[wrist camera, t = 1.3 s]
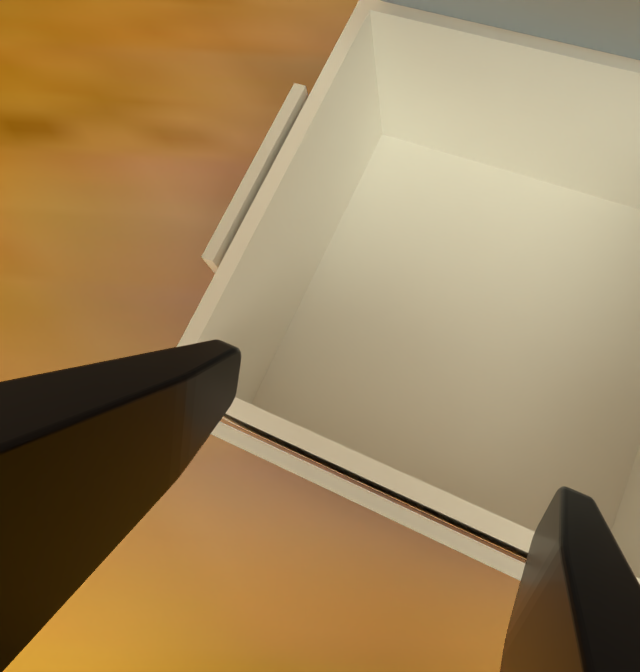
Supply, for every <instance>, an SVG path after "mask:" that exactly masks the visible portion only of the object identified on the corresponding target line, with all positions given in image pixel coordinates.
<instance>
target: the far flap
mask: <svg viewBox="0 0 640 672" xmlns="http://www.w3.org/2000/svg"><path fill="white" fill-rule="evenodd" d="M381 1H384V2H388V3H393V4H397V5H401V6H406V7H410V8H414V9H419V10H423V11H427V12H432V13H436V14H440V15H445V16H449V17H454V18H458V19H462V20H467V21H471V22H475V23H480V24H484V25H488V26H493V27H497V28H501V29H506V30H510V31H514V32H519V33H523V34H528V35H532V36H536V37H541V38H545V39H549V40H554V41H558V42H562V43H567V44H571V45H575V46H580V47H584V48H588V49H593V50H597V51H602V52H606V53H610V54H615V55H619V56H623V57H628V58H632V59H636V60H640V0H381Z"/></svg>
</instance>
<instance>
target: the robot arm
mask: <svg viewBox="0 0 640 672" xmlns="http://www.w3.org/2000/svg"><path fill="white" fill-rule="evenodd" d="M240 365H241V351H240V350H239V348H238V347H236V346H233V345H231V344H228V343H226V342H224V341H221V340H217V339H215V340H210V341H205V342H200V343H195V344H190V345H184V346H179V347H174V348H169V349H164V350H159V351H154V352H149V353H144V354H139V355H134V356H129V357H124V358H119V359H114V360H109V361H104V362H99V363H94V364H89V365H83V366H78V367H73V368H68V369H63V370H58V371H53V372H48V373H43V374H38V375H33V376H28V377H23V378H18V379H13V380H8V381H3V382H0V672H3V670H4V669H5V668H6V667H7V666H8V665H9V664H10V663H11V662H12V661H13V660H14V658H15V657H16V656H17V655H18V654H19V653H20V652H21V651H22V650H23V649H24V647H25V646H26V645H27V644H28V643H29V642H30V641H31V640H32V639H33V638H34V636H35V635H36V634H37V633H38V632H39V631H40V630H41V629H42V628H43V627H44V625H45V624H46V623H47V622H48V621H49V620H50V619H51V618H52V617H53V616H54V614H55V613H56V612H57V611H58V610H59V609H60V608H61V607H62V606H63V605H64V604H65V602H66V601H67V600H68V599H69V598H70V597H71V596H72V595H73V594H74V593H75V591H76V590H77V589H78V588H79V587H80V586H81V585H82V584H83V583H84V582H85V580H86V579H87V578H88V577H89V576H90V575H91V574H92V573H93V572H94V571H95V569H96V568H97V567H98V566H99V565H100V564H101V563H102V562H103V561H104V560H105V558H106V557H107V556H108V555H109V554H110V553H111V552H112V551H113V550H114V549H115V548H116V546H117V545H118V544H119V543H120V542H121V541H122V540H123V539H124V538H125V537H126V535H127V534H128V533H129V532H130V531H131V530H132V529H133V528H134V527H135V526H136V524H137V523H138V522H139V521H140V520H141V519H142V518H143V517H144V516H145V515H146V513H147V512H148V511H149V510H150V509H151V508H152V507H153V506H154V505H155V504H156V502H157V501H158V500H159V499H160V498H161V497H162V496H163V495H164V494H165V493H166V492H167V490H168V489H169V488H170V487H171V486H172V485H173V484H174V482H175V481H176V480H177V479H178V478H179V477H180V475H181V474H182V473H183V471H184V470H185V469H186V467H187V466H188V465H189V463H190V462H191V460H192V459H193V458H194V456H195V455H196V453H197V452H198V451H199V449H200V448H201V447H202V445H203V444H204V442H205V441H206V440H207V438H208V437H209V435H210V434H211V433H212V431H213V430H214V428H215V427H216V426H217V424H218V423H219V421H220V420H221V419H222V417H223V416H224V415H225V413H226V412H227V410H228V409H229V408H230V406H231V405H232V403H233V401H234V398H235V396H236V392H237V386H238V379H239V372H240ZM500 672H640V584H639V582H638V580H637V578H636V576H635V575H634V573H633V571H632V569H631V567H630V565H629V563H628V562H627V560H626V558H625V556H624V554H623V552H622V550H621V549H620V547H619V545H618V543H617V541H616V539H615V538H614V536H613V534H612V532H611V530H610V528H609V526H608V525H607V523H606V521H605V519H604V517H603V515H602V513H601V512H600V510H599V508H598V506H597V504H596V502H595V501H594V500H593V498H592V497H590V496H588V495H586V494H583V493H581V492H578V491H576V490H574V489H571V488H569V487H566V486H562V487H560V488H559V489H558V490H557V491H556V493H555V495H554V497H553V499H552V500H551V502H550V504H549V506H548V508H547V510H546V511H545V513H544V515H543V517H542V519H541V521H540V523H539V524H538V526H537V528H536V531H535V533H534V535H533V538H532V541H531V545H530V549H529V552H528V556H527V560H526V563H525V567H524V571H523V574H522V578H521V582H520V585H519V589H518V593H517V596H516V600H515V604H514V607H513V611H512V615H511V618H510V622H509V626H508V630H507V634H506V639H505V643H504V649H503V655H502V661H501V669H500Z"/></svg>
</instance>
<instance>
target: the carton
mask: <svg viewBox="0 0 640 672" xmlns="http://www.w3.org/2000/svg"><path fill="white" fill-rule="evenodd" d="M201 257H202V259H203V260H204V261H205V262H206V263H207V265H208V266H209V267H210V268H211V270H212V271H213V272H214V273H215V275H214V277H213V279H212V280H211V282H210V284H209V286H208V288H207V290H206V292H205V294H204V296H203V298H202V299H201V301H200V303H199V305H198V307H197V309H196V311H195V313H194V315H193V317H192V318H191V320H190V322H189V324H188V326H187V328H186V330H185V332H184V334H183V336H182V337H181V339H180V341H179V343H178V345H177V347H179V346H184V345H190V344H195V343H200V342H205V341H210V340H215V339H217V340H221V341H224V342H226V343H228V344H231V345H233V346H236V347H238V348H239V350H240V351H241V365H240V372H239V379H238V386H237V392H236V396H235V398H234V401H233V403H232V405H231V406H230V408H229V409H228V410H227V412H226V413H225V415H224V416H223V417H222V418H223V419H225V420H227V421H228V422H230V423H232V424H234V425H236V426H238V427H240V428H243V429H245V430H247V431H249V432H251V433H253V434H255V435H258V436H260V437H262V438H264V439H266V440H268V441H271V442H273V443H275V444H277V445H279V446H281V447H284V448H286V449H288V450H290V451H292V452H294V453H296V454H299V455H301V456H303V457H305V458H307V459H309V460H312V461H314V462H316V463H318V464H320V465H322V466H325V467H327V468H329V469H331V470H333V471H335V472H337V473H340V474H342V475H344V476H346V477H348V478H350V479H353V480H355V481H357V482H359V483H361V484H363V485H365V486H368V487H370V488H372V489H374V490H376V491H378V492H381V493H383V494H385V495H387V496H389V497H391V498H394V499H396V500H398V501H400V502H402V503H404V504H406V505H409V506H411V507H413V508H415V509H417V510H419V511H422V512H424V513H426V514H428V515H430V516H432V517H434V518H437V519H439V520H441V521H443V522H445V523H447V524H450V525H452V526H454V527H456V528H458V529H460V530H463V531H465V532H467V533H469V534H471V535H473V536H475V537H478V538H480V539H482V540H484V541H486V542H488V543H491V544H493V545H495V546H497V547H499V548H501V549H504V550H506V551H508V552H510V553H512V554H514V555H516V556H519V557H521V558H523V559H525V560H527V556H528V552H529V549H530V545H531V541H532V538H533V535H534V533H535V531H536V528H537V526H538V524H539V523H540V521H541V519H542V517H543V515H544V513H545V511H546V510H547V508H548V506H549V504H550V502H551V500H552V499H553V497H554V495H555V493H556V491H557V490H558V489H559V488H560V487H562V486H566V487H569V488H571V489H574V490H576V491H578V492H581V493H583V494H586V495H588V496H590V497H592V498H593V500H594V501H595V502H596V504H597V506H598V508H599V510H600V512H601V513H602V515H603V517H604V519H605V521H606V523H607V525H608V526H609V528H610V530H611V532H612V534H613V536H614V538H615V539H616V541H617V543H618V545H619V547H620V549H621V550H622V552H623V554H624V556H625V558H626V560H627V562H628V563H629V565H630V567H631V569H632V571H633V573H634V575H635V576H636V578H637V580H638V582H639V584H640V60H636V59H632V58H628V57H623V56H619V55H615V54H610V53H606V52H602V51H597V50H593V49H588V48H584V47H580V46H575V45H571V44H567V43H562V42H558V41H554V40H549V39H545V38H541V37H536V36H532V35H528V34H523V33H519V32H514V31H510V30H506V29H501V28H497V27H493V26H488V25H484V24H480V23H475V22H471V21H467V20H462V19H458V18H454V17H449V16H445V15H440V14H436V13H432V12H427V11H423V10H419V9H414V8H410V7H406V6H401V5H397V4H393V3H388V2H384V1H381V0H359V1H358V3H357V5H356V7H355V9H354V11H353V13H352V15H351V16H350V18H349V20H348V22H347V24H346V26H345V28H344V30H343V32H342V34H341V35H340V37H339V39H338V41H337V43H336V45H335V47H334V49H333V51H332V53H331V54H330V56H329V58H328V60H327V62H326V64H325V66H324V68H323V70H322V72H321V73H320V75H319V77H318V79H317V81H316V83H315V85H314V87H313V89H312V90H311V92H310V94H309V96H308V93H307V89H306V86H304V85H301V84H297V83H294V85H293V86H292V88H291V90H290V92H289V94H288V96H287V98H286V99H285V101H284V103H283V105H282V107H281V109H280V111H279V113H278V114H277V116H276V118H275V120H274V122H273V124H272V126H271V127H270V129H269V131H268V133H267V135H266V137H265V139H264V141H263V142H262V144H261V146H260V148H259V150H258V152H257V154H256V155H255V157H254V159H253V161H252V163H251V165H250V167H249V169H248V170H247V172H246V174H245V176H244V178H243V180H242V182H241V183H240V185H239V187H238V189H237V191H236V193H235V195H234V197H233V198H232V200H231V202H230V204H229V206H228V208H227V210H226V211H225V213H224V215H223V217H222V219H221V221H220V223H219V224H218V226H217V228H216V230H215V232H214V234H213V236H212V238H211V239H210V241H209V243H208V245H207V247H206V249H205V251H204V252H203V254H202V256H201ZM211 434H212V435H214V436H216V437H218V438H220V439H222V440H224V441H226V442H228V443H231V444H233V445H235V446H237V447H239V448H241V449H243V450H245V451H247V452H250V453H252V454H254V455H256V456H258V457H260V458H262V459H264V460H266V461H269V462H271V463H273V464H275V465H277V466H279V467H281V468H283V469H285V470H288V471H290V472H292V473H294V474H296V475H298V476H300V477H302V478H304V479H306V480H309V481H311V482H313V483H315V484H317V485H319V486H321V487H323V488H325V489H328V490H330V491H332V492H334V493H336V494H338V495H340V496H342V497H344V498H347V499H349V500H351V501H353V502H355V503H357V504H359V505H361V506H363V507H366V508H368V509H370V510H372V511H374V512H376V513H378V514H380V515H382V516H385V517H387V518H389V519H391V520H393V521H395V522H397V523H399V524H401V525H403V526H406V527H408V528H410V529H412V530H414V531H416V532H418V533H420V534H422V535H425V536H427V537H429V538H431V539H433V540H435V541H437V542H439V543H441V544H444V545H446V546H448V547H450V548H452V549H454V550H456V551H458V552H460V553H463V554H465V555H467V556H469V557H471V558H473V559H475V560H477V561H479V562H482V563H484V564H486V565H488V566H490V567H492V568H494V569H496V570H498V571H500V572H503V573H505V574H507V575H509V576H511V577H513V578H515V579H517V580H519V581H521V578H522V574H523V571H524V567H525V563H523V562H521V561H519V560H517V559H515V558H512V557H510V556H508V555H506V554H504V553H502V552H499V551H497V550H495V549H493V548H491V547H489V546H487V545H484V544H482V543H480V542H478V541H476V540H474V539H472V538H469V537H467V536H465V535H463V534H461V533H459V532H457V531H454V530H452V529H450V528H448V527H446V526H444V525H441V524H439V523H437V522H435V521H433V520H431V519H429V518H426V517H424V516H422V515H420V514H418V513H416V512H414V511H411V510H409V509H407V508H405V507H403V506H401V505H398V504H396V503H394V502H392V501H390V500H388V499H386V498H383V497H381V496H379V495H377V494H375V493H373V492H371V491H368V490H366V489H364V488H362V487H360V486H358V485H356V484H353V483H351V482H349V481H347V480H345V479H343V478H340V477H338V476H336V475H334V474H332V473H330V472H328V471H325V470H323V469H321V468H319V467H317V466H315V465H313V464H310V463H308V462H306V461H304V460H302V459H300V458H298V457H295V456H293V455H291V454H289V453H287V452H285V451H282V450H280V449H278V448H276V447H274V446H272V445H270V444H267V443H265V442H263V441H261V440H259V439H257V438H255V437H252V436H250V435H248V434H246V433H244V432H242V431H240V430H237V429H235V428H233V427H231V426H229V425H227V424H224V423H222V422H220V421H219V423H218V424H217V426H216V427H215V428H214V430H213V431H212V433H211Z"/></svg>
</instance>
